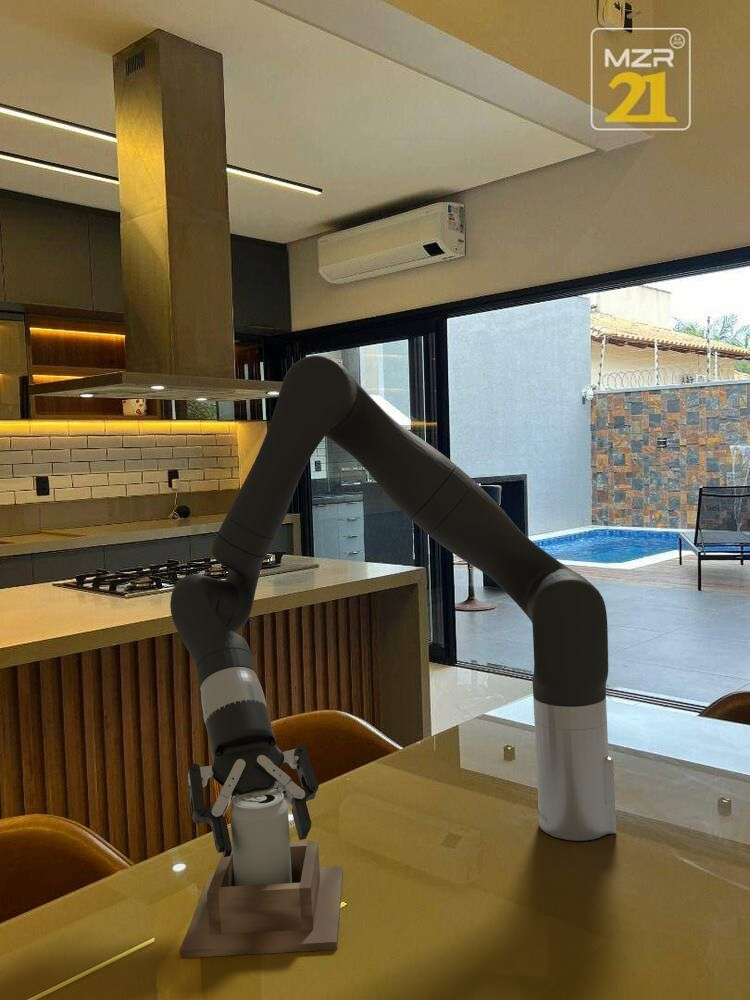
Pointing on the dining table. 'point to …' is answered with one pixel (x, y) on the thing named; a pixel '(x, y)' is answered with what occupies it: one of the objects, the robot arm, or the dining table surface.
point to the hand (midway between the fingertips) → (266, 845)
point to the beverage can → (260, 838)
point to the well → (268, 910)
